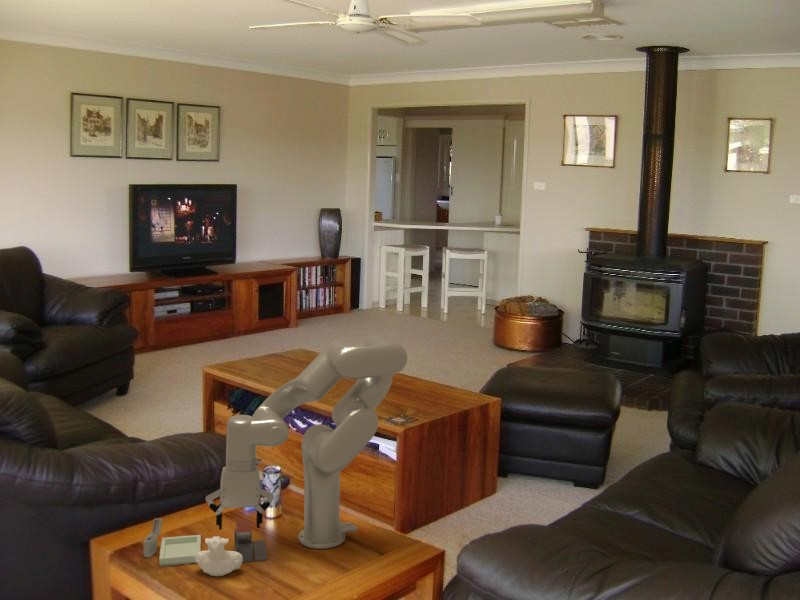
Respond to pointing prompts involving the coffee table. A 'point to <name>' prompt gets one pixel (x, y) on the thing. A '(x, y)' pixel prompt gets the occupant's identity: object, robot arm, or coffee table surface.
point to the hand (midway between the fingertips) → (239, 526)
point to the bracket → (251, 549)
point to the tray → (179, 550)
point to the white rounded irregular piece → (218, 558)
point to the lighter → (152, 539)
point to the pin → (243, 532)
